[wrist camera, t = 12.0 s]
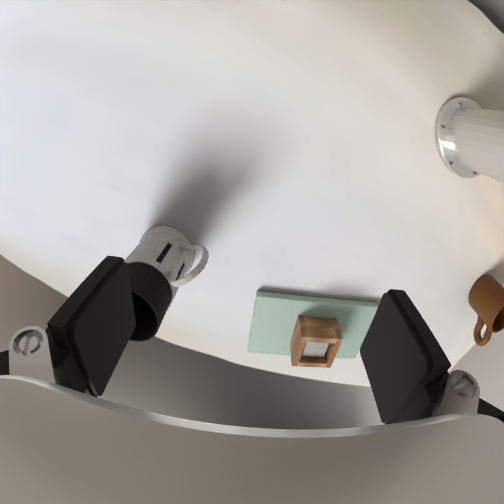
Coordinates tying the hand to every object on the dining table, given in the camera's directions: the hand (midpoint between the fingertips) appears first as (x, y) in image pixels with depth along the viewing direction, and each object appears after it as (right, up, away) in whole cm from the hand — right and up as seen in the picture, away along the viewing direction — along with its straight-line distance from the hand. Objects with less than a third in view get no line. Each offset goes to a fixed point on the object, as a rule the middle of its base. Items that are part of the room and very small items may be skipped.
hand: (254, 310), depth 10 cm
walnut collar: (+10, -11, +35) cm, 38 cm away
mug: (+46, -8, +34) cm, 57 cm away
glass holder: (-10, +3, +31) cm, 32 cm away
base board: (+10, -10, +36) cm, 39 cm away
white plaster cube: (+10, -11, +35) cm, 38 cm away
